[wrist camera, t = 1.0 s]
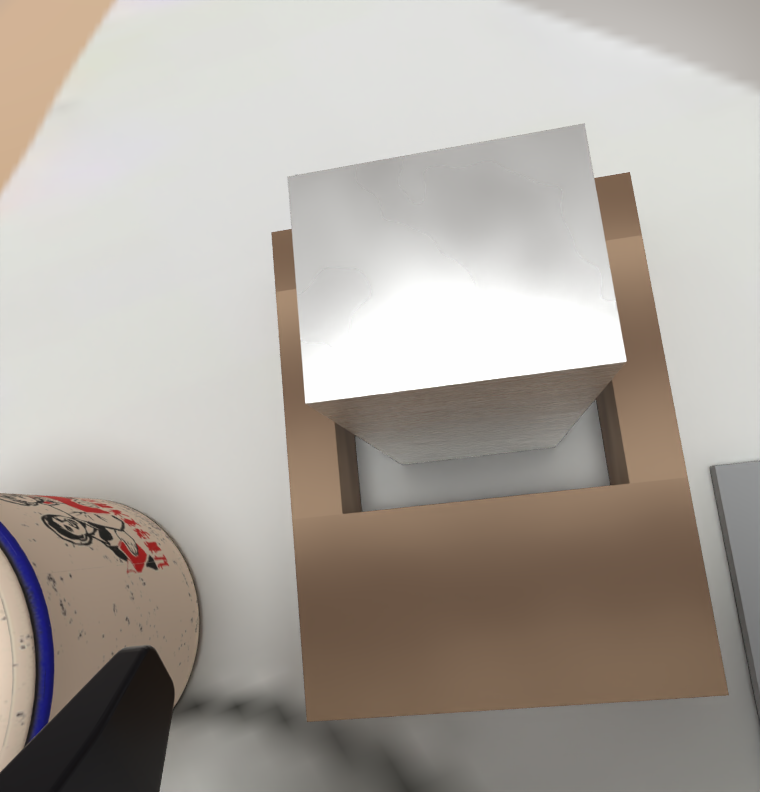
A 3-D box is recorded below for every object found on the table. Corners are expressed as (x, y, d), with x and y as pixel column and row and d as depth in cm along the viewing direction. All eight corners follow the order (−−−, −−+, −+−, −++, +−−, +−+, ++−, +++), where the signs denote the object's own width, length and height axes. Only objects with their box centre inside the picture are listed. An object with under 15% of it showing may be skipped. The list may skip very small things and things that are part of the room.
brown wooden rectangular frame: (694, 669, 20) (728, 695, 17) (332, 695, 22) (307, 721, 19) (612, 216, 23) (630, 172, 20) (297, 266, 24) (271, 232, 22)
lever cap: (555, 447, 22) (627, 361, 10) (402, 464, 23) (305, 403, 11) (537, 328, 23) (584, 123, 11) (389, 349, 23) (287, 176, 12)
